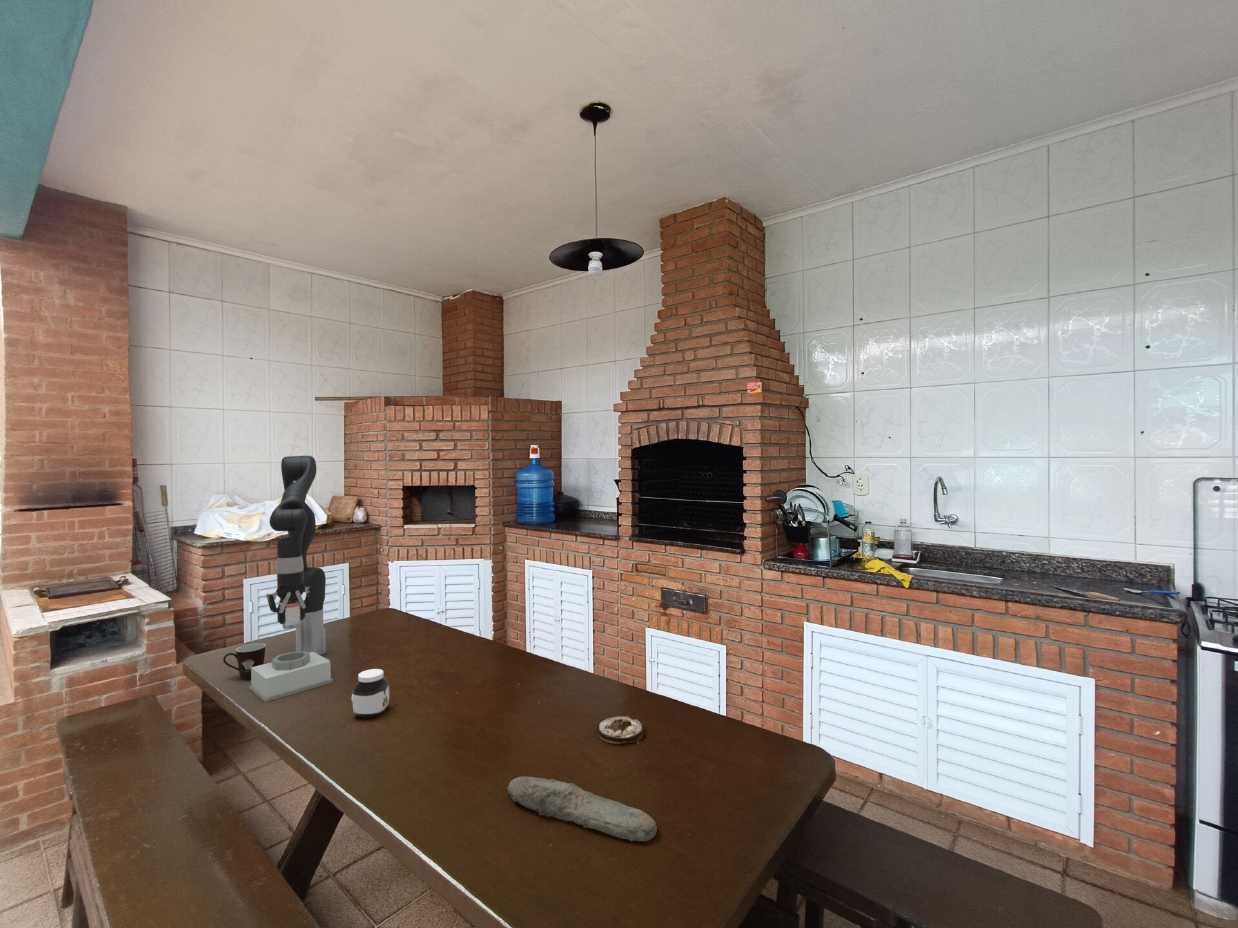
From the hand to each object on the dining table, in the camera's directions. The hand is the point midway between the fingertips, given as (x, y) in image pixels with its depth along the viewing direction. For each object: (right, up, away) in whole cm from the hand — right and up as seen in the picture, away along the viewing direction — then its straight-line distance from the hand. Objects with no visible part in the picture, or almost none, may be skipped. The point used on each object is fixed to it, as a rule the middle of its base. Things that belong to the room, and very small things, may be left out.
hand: (291, 621), depth 186 cm
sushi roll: (+108, -22, -33) cm, 115 cm away
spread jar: (+33, -22, -18) cm, 43 cm away
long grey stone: (+99, -23, -66) cm, 121 cm away
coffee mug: (-20, -21, +8) cm, 30 cm away
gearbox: (0, -21, 0) cm, 21 cm away
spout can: (0, -2, 0) cm, 2 cm away
